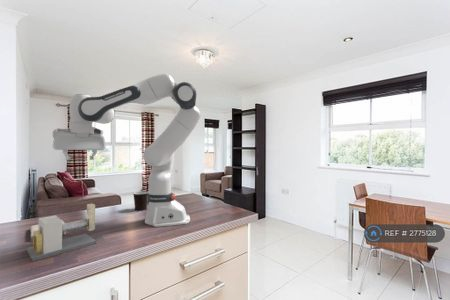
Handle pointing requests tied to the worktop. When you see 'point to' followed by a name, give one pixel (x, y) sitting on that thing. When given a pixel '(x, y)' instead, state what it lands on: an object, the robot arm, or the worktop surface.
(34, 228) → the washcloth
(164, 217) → the robot arm
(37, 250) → the brass collar
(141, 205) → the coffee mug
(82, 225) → the shaft
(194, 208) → the worktop surface
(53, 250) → the bearing housing
